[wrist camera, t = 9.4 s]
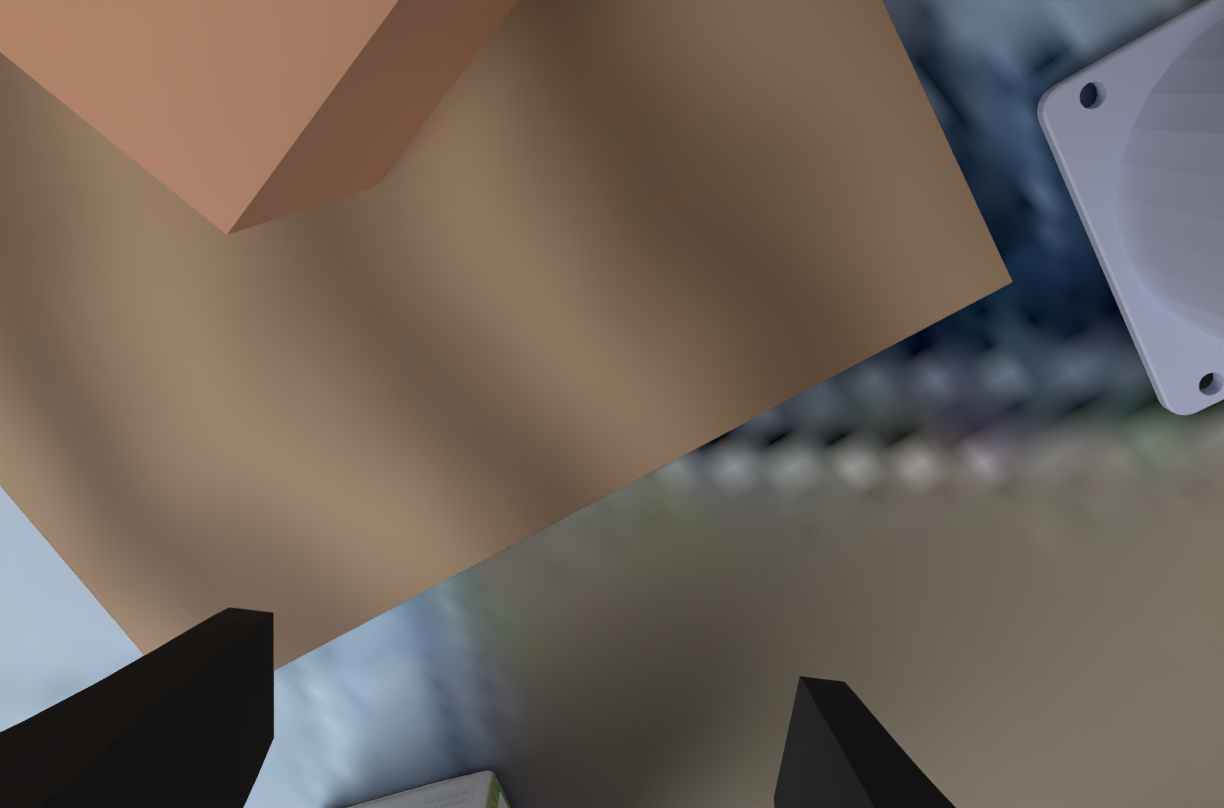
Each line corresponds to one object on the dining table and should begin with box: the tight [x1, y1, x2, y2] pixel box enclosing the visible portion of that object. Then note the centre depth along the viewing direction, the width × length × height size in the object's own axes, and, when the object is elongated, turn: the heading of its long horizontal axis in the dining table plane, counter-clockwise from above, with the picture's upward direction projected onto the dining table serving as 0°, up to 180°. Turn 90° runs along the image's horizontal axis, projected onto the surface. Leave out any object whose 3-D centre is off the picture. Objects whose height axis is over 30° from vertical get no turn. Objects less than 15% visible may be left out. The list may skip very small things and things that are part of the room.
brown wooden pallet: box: [0, 0, 1012, 670], centre depth 18 cm, size 22×18×3 cm
